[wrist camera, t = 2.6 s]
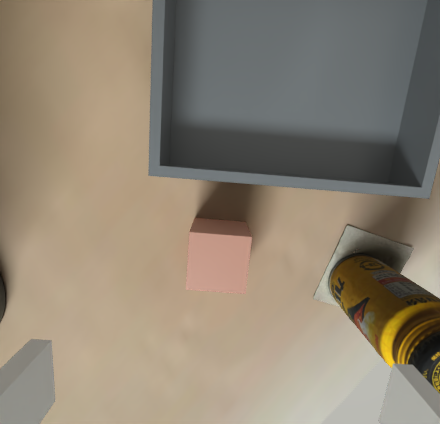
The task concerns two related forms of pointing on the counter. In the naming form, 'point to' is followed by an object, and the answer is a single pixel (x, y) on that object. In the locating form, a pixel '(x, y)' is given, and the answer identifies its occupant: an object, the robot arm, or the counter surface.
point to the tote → (297, 93)
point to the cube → (218, 256)
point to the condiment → (384, 301)
